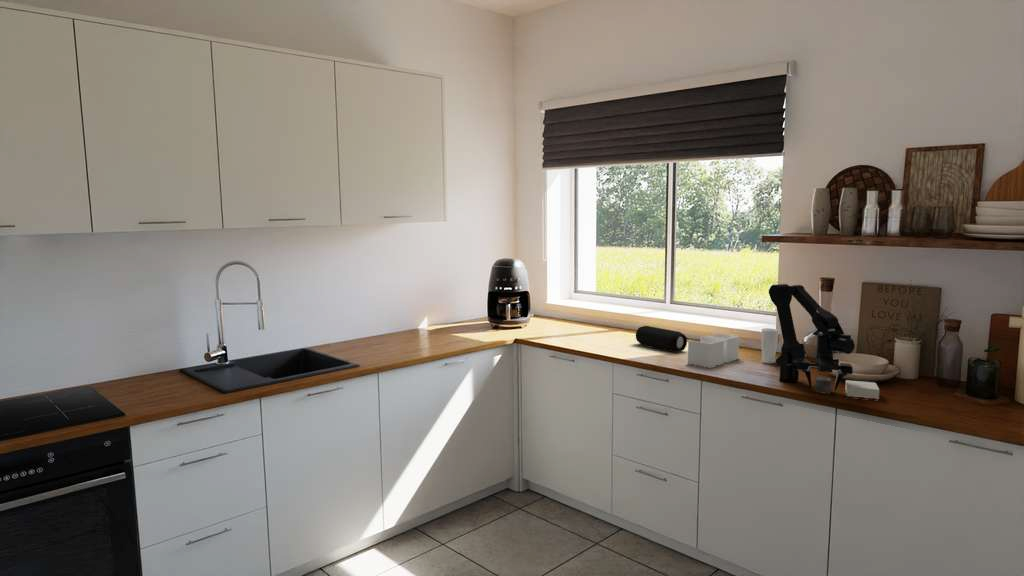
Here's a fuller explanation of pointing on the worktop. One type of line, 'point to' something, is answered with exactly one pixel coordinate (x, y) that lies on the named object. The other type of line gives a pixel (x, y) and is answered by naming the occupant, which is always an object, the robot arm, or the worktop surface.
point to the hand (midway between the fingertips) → (822, 388)
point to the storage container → (713, 350)
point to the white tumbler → (769, 345)
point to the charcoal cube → (823, 385)
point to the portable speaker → (661, 338)
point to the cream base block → (862, 389)
